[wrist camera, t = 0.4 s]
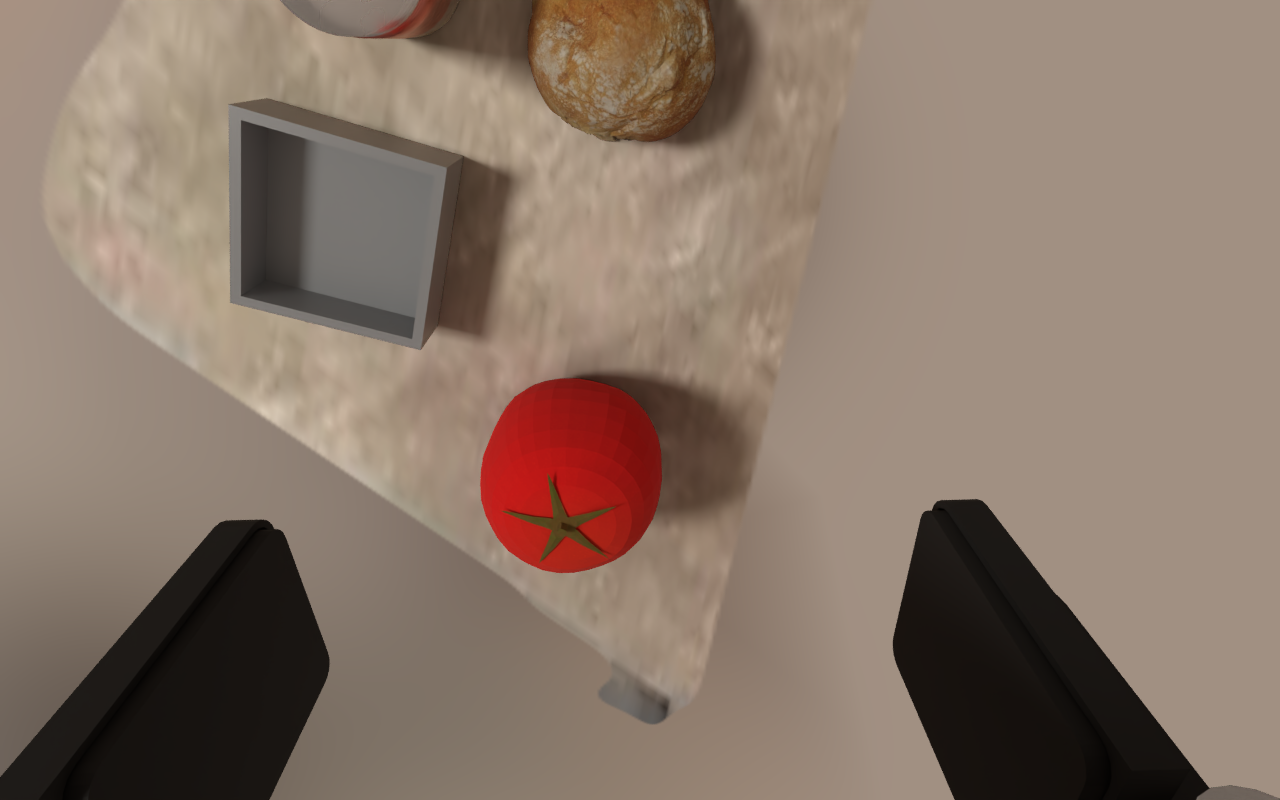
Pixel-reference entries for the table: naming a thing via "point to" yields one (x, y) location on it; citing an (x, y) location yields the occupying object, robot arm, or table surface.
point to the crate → (338, 222)
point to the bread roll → (623, 64)
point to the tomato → (571, 475)
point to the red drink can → (374, 16)
